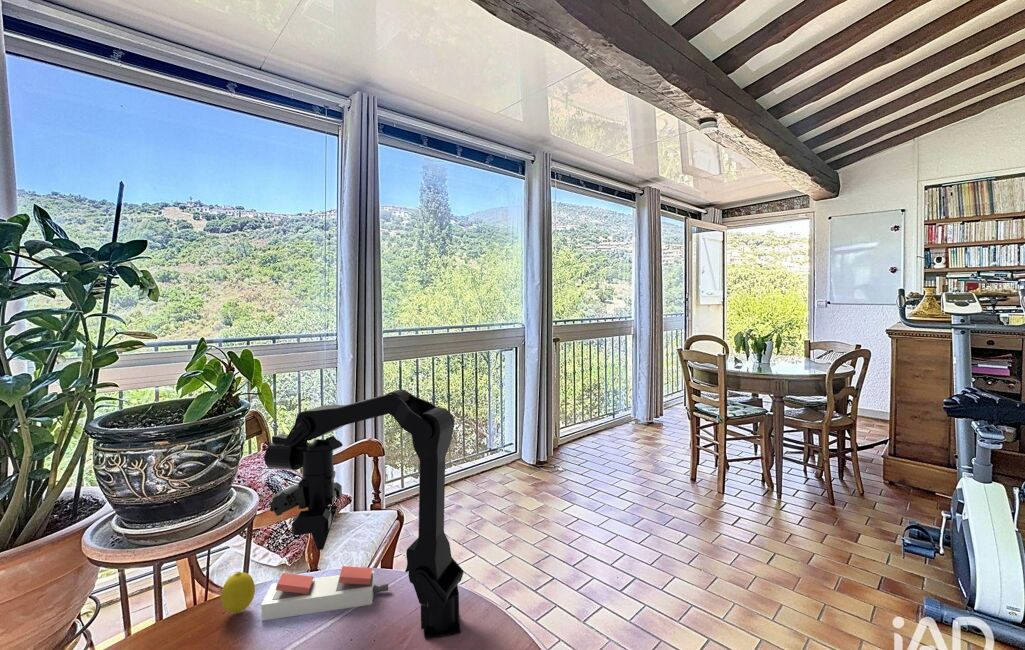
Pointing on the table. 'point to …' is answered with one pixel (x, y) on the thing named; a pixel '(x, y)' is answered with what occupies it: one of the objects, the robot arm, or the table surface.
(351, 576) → the block
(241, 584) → the lemon
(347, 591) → the power strip
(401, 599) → the table surface
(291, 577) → the block
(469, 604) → the table surface
